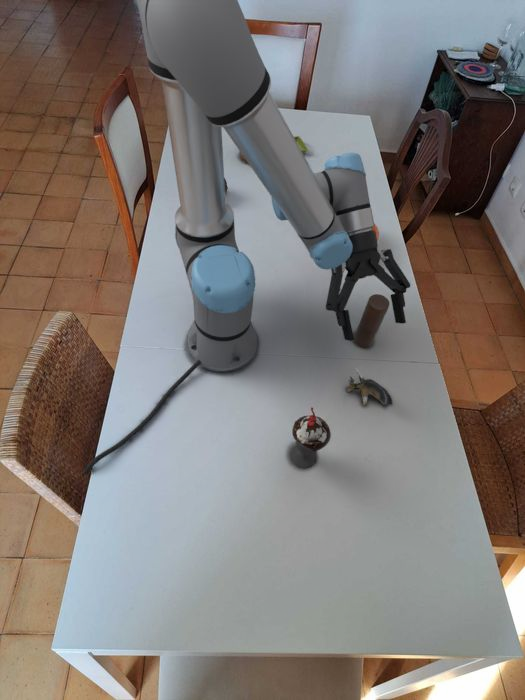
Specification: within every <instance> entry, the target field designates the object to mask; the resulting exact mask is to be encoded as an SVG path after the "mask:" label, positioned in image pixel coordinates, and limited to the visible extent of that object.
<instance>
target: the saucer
mask: <svg viewBox="0 0 525 700" xmlns="http://www.w3.org/2000/svg"><path fill="white" fill-rule="evenodd" d="M294 138H295V140H296V142H297V144H298V146H299V147H300V149H301V151H302V153H303V154H305V153H307V152H308V151H309V148H308V147H307V145H306V144H305V142H304V140H303V139H302V138H301V136H299V135H298V136H297V135H296V136H294Z"/></svg>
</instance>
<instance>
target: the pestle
mask: <svg viewBox="0 0 525 700" xmlns="http://www.w3.org/2000/svg"><path fill="white" fill-rule="evenodd" d="M389 308H390V300H389V299H388V298H387V297H386V296H384V295H383V294H379V293H375V294H372V295H370V296H369V297H368V300H367V302H366V304H365V307H364V310H363V313H362V315H361V317H360V320H359V323H358V324H357V327H356V330H355V333H354V334H353V337H354V340H353V342H354V343H355V344H356V345H357V346H358V347H359V348H370V347H371V346H372V344H373V342H374V341H375V338H376V337H377V336H376V335H377V334H378V331H379V330H380V328H381V325H382V323H383V321H384V318H385V316H386V314H387V312H388V310H389Z"/></svg>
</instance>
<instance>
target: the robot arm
mask: <svg viewBox="0 0 525 700" xmlns="http://www.w3.org/2000/svg"><path fill="white" fill-rule="evenodd" d="M133 1H134V4H135V7H136V9H137V12H138V13H139V17H140V22H141V27H142V28H141V29H142V34H143V40H144V46H145V51H146V58H147V63H148V69H149V71H150V73H151V74H152V75H154V77H156V78H157V79H158V80H159V81H161V84H162V92H163V98H164V105H165V112H166V118H167V126H168V131H169V138H170V144H171V151H172V159H173V164H174V171H175V179H176V185H177V191H178V197H179V205H180V206H179V207H178V208H177V210H176V212H175V213H174V223H175V227H174V236H175V237H174V238H175V242H176V245H177V248H178V250H179V253H180V257H181V260H182V263H183V267H184V271H185V274H186V278H187V281H188V284H189V289H190V291H191V296H192V302H193V317H194V319H193V322H192V324H191V326H190V328H189V331H188V333H187V341H186V342H187V350H188V353H189V355H190V357H191V359H192V360H193V361H194V363H193V364H192V365H191V367H189V369H187V370H186V371H185V372H184V373H183V374H182V375H181V376H180V378H178V379H177V380H176V382H174V383H173V384H172V386H171V387H170V388H168V390H167V391H166V392H165V394H164V395H163V396H162V397H161V399H160V400H159V401H158V403H157V405H155V407H154V408H153V410H151V412H150V413H148V415H147V416H146V417H145V418H144V419H143V420H142V421H141V422H140V423H139V424H138V425H137V426H136V427H135V428H134V429H133V430H132V431H130V432H129V433H128V434H127V435H125V436H124V437H123V438H122V439H121V440H119V441H118V442H117V443H116V444H114V445H112V446H110V447H109V448H108V449H106V450H104V451H103V452H100V453H99V454H98V455H97V456H95V457H93V459H91V460H90V462H89V463H88V464H87V465H86V467H85V468H84V470H83V472H82V474H83V475H84V476H85V475H88V474H89V472H90V471H91V469H92V468H93V467H94V466H95V465H96V464H97V463H98V462H99V461H101V460H102V459H103V458H105V457H107V456H109V455H110V454H112V453H113V452H115V451H116V450H118V449H120V448H121V447H123V445H125V444H126V443H128V442H129V441H130V440H131V439H132V438H133V437H134V436H136V434H138V433H139V432H140V431H141V430H142V429H144V427H145V426H146V425H147V424H148V423H149V422H150V421H151V420H152V419H153V418H154V417H155V416H156V414H157V413H158V412H159V410H160V409H161V408H162V406H163V405H164V403H165V402H166V401H167V399H168V398H169V397H170V396H171V395H172V393H173V392H174V391H175V390H176V389H178V387H179V386H180V385H181V384H182V383H183V382H184V381H185V380H186V379H187V378H188V377H189V376H190V375H191V374H192V373H193V372H194V371H195V370H196V368H198V367H201V368H202V369H205V370H207V371H210V372H214V373H232V372H235V371H238V370H240V369H243V368H244V367H246V366H247V365H248V364H249V363H250V362H251V361H252V360H253V359H254V357H255V355H256V353H257V349H258V336H257V331H256V329H255V327H254V324H253V322H252V317H253V315H252V314H253V304H254V297H255V296H254V295H255V291H256V285H257V283H256V274H255V268H254V265H253V263H252V261H251V259H250V258H249V257H248V256H247V255H246V254H245V252H243V251H240V249H239V248H238V244H237V241H236V240H237V239H236V236H235V235H236V232H235V231H236V230H235V213H234V210H233V208H232V207H231V206H230V205H229V204H228V203H227V202H226V195H225V183H224V178H225V168H224V167H225V165H224V147H223V132H222V131H223V130H222V128H223V129H224V131H225V132H226V133H227V135H228V136H229V138H230V139H231V141H232V142H233V144H234V145H235V147H236V148H237V149H238V151H239V153H240V152H241V153H242V155H243V156H244V158H245V159H246V161H247V162H248V164H247V165H249V166H250V168H251V169H252V171H253V172H254V174H255V175H256V177H257V178H258V179H259V181H260V182H261V184H262V185H263V186H264V188H265V189H266V191H267V192H268V194H269V195H270V198H271V205H272V208H273V213H274V214H275V217H276V218H277V219H278V220H280V221H283V222H284V221H288V222H289V224H290V225H291V227H292V229H294V231H295V232H296V234H297V236H298V238H300V240H301V242H302V243H303V245H304V246H305V248H306V250H307V251H308V253H309V257H310V258H311V259H312V260H313V262H314V263H315V265H316V266H317V267H318V268H320V269H322V270H330V271H331V277H330V283H329V288H328V291H327V292H328V293H327V298H326V304H325V310H326V311H330V312H334V313H335V317H336V322H337V325H338V327H341V330H342V333H343V339H344V341H348V342H352V341H354V332H353V327H352V323H351V318H350V312H349V310H348V309H346V306H347V304H348V302H349V299H350V297H351V296H352V295H351V294H352V292H353V290H354V288H355V285H356V283H358V281H359V280H360V279H365V278H367V277H372V276H374V277H376V278H377V279H378V280H379V281H380V282H382V284H383V285H384V286H386V287H387V288H388V289H389V290H390V291H391V292H392V294H390V301H391V305H392V310H393V317H394V322H395V324H406V323H407V320H406V315H405V310H404V308H405V307H406V301H405V293H407V290H408V289H409V288H411V282H410V281H409V279H408V278H407V276H406V275H405V274H404V272H403V271H402V269H401V268H400V266H399V264H398V263H397V262H396V260H395V258H394V254H393V251H392V249H391V248H388V249H387V248H386V249H381V250H380V252H379V249H378V247H379V246H378V245H379V243H378V242H377V237H376V232H374V230H373V231H372V227H374V226H375V225H376V224H375V225H374V223H375V221H374V220H375V219H374V214H373V210H372V205H371V201H370V196H369V195H370V194H369V189H368V184H367V183H368V182H367V174H366V170H365V165H364V163H363V160H362V156H361V154H359V153H357V152H346V153H342V154H340V155H336V156H333V157H330V158H329V159H327V160H326V161H325V162H324V169H323V170H322V171H318V172H314V171H313V169H312V167H311V166H310V164H309V162H308V160H307V158H306V156H305V154H304V153H302V151H301V149H300V147H299V146H298V144H297V142H296V140H295V138H294V137H295V136H294V134H293V132H292V131H291V129H290V127H289V125H288V124H287V122H286V120H285V117H284V116H283V114H282V112H281V111H280V109H279V107H278V105H277V103H276V102H275V100H274V98H273V95H272V94H271V92H270V90H271V87H272V79H271V75H270V73H269V71H268V70H267V68H266V66H265V64H264V61H263V59H262V58H261V54H260V53H259V51H258V48H257V46H256V44H255V41H254V38H253V36H252V34H251V31H250V28H249V25H248V22H247V20H246V17H245V14H244V12H243V10H242V7H241V5H240V3H239V0H133ZM380 261H382V263H383V265H384V266H385V268H386V269H387V271H388V272H387V271H386V270H385V268H384V267H383V266H382V265H380ZM345 270H346V271H347V273H346V275H345V277H344V283H343V285H342V281H343V275H344V274H343V273H344V272H345ZM341 285H342V287H341Z"/></svg>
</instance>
